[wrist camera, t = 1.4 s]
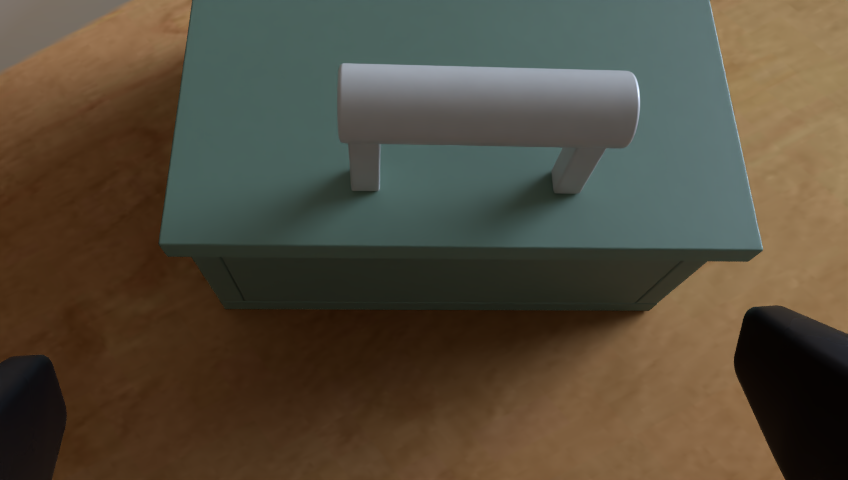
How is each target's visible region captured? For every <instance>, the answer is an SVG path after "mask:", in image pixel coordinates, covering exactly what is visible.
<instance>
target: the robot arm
mask: <svg viewBox="0 0 848 480" xmlns="http://www.w3.org/2000/svg"><path fill="white" fill-rule="evenodd" d="M734 368H735V372H736V375H737V378H738V380H739V382H740V384H741V386H742V389H743V391H744V393H745V395H746V397H747V400H748V402H749V404H750V406H751V408H752V410H753V413H754V415H755V417H756V419H757V421H758V424H759V426H760V428H761V430H762V432H763V435H764V437H765V439H766V441H767V443H768V445H769V448H770V450H771V452H772V454H773V456H774V458H775V460H776V462H777V464H778V466H779V468H780V470H781V472H782V474H783V476H784V478H785V480H848V334H846V333H844V332H842V331H839V330H837V329H835V328H832V327H830V326H828V325H825V324H823V323H820V322H818V321H816V320H813V319H811V318H809V317H806V316H804V315H802V314H799V313H797V312H795V311H792V310H790V309H788V308H785V307H783V306H762V307H752V308H751V309H749V310H748V311H747V312H746V314H745V316H744V319H743V322H742V327H741V331H740V335H739V339H738V343H737V347H736V351H735V356H734ZM66 420H67V412H66V405H65V402H64V399H63V395H62V392H61V389H60V386H59V382H58V379H57V376H56V373H55V370H54V366H53V364H52V362H51V360H50V359H49V358H48V357H47V356H45V355H26V356H13V357H10V358H8V359H6V360H4V361H3V362H1V363H0V480H52V477H53V473H54V470H55V466H56V462H57V458H58V454H59V450H60V446H61V442H62V438H63V434H64V431H65V426H66Z"/></svg>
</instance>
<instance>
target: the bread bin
mask: <svg viewBox="0 0 848 480" xmlns="http://www.w3.org/2000/svg"><path fill="white" fill-rule="evenodd" d="M192 259H193V260H194V262H195V263H196V265H197V266H198V268H199V269H200V271H201V272H202V274H203V276H204V277H205V279H206V280H207V282H208V283H209V285H210V286H211V288H212V289H213V291H214V292H215V294H216V296H217V297H218V299H219V300H220V302H221V304H222V305H223V307H224V308H225V309H357V310H605V311H649V310H650V309H652V308H653V307H654V306H655V305H656V304H657V303H658V302H659V301H661V300H662V299H663V298H664V297H665V296H666V295H668V294H669V293H670V292H671V291H672V290H674V289H675V288H676V287H677V286H678V285H680V284H681V283H682V282H683V281H684V280H686V279H687V278H688V277H689V276H690V275H692V274H693V273H694V272H695V271H696V270H698V269H699V268H700V267H701V266H702V265H704V264H705V263H706V262H707V261H627V260H512V259H397V258H282V257H192Z"/></svg>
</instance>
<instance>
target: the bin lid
mask: <svg viewBox="0 0 848 480" xmlns="http://www.w3.org/2000/svg"><path fill="white" fill-rule="evenodd" d="M159 246H160V247H161V248H162V250H163V251H164V253H165V254H166V255H167V256H168V257H282V258H397V259H512V260H627V261H743V262H748V261H750V260H751V259H752V258H754V257H755V256H756V255H758V254H759V253H760V252H762V251H763V247H762V242H761V238H760V233H759V228H758V224H757V219H756V214H755V210H754V205H753V200H752V196H751V191H750V186H749V182H748V177H747V172H746V168H745V163H744V158H743V154H742V149H741V145H740V140H739V135H738V131H737V126H736V121H735V117H734V112H733V107H732V103H731V98H730V93H729V89H728V84H727V79H726V75H725V70H724V65H723V61H722V56H721V51H720V47H719V42H718V37H717V33H716V28H715V23H714V19H713V14H712V10H711V5H710V0H192V6H191V14H190V21H189V28H188V35H187V42H186V50H185V57H184V64H183V71H182V78H181V86H180V93H179V100H178V107H177V114H176V121H175V129H174V136H173V143H172V150H171V157H170V165H169V172H168V179H167V186H166V193H165V201H164V208H163V215H162V222H161V229H160V236H159Z"/></svg>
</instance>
